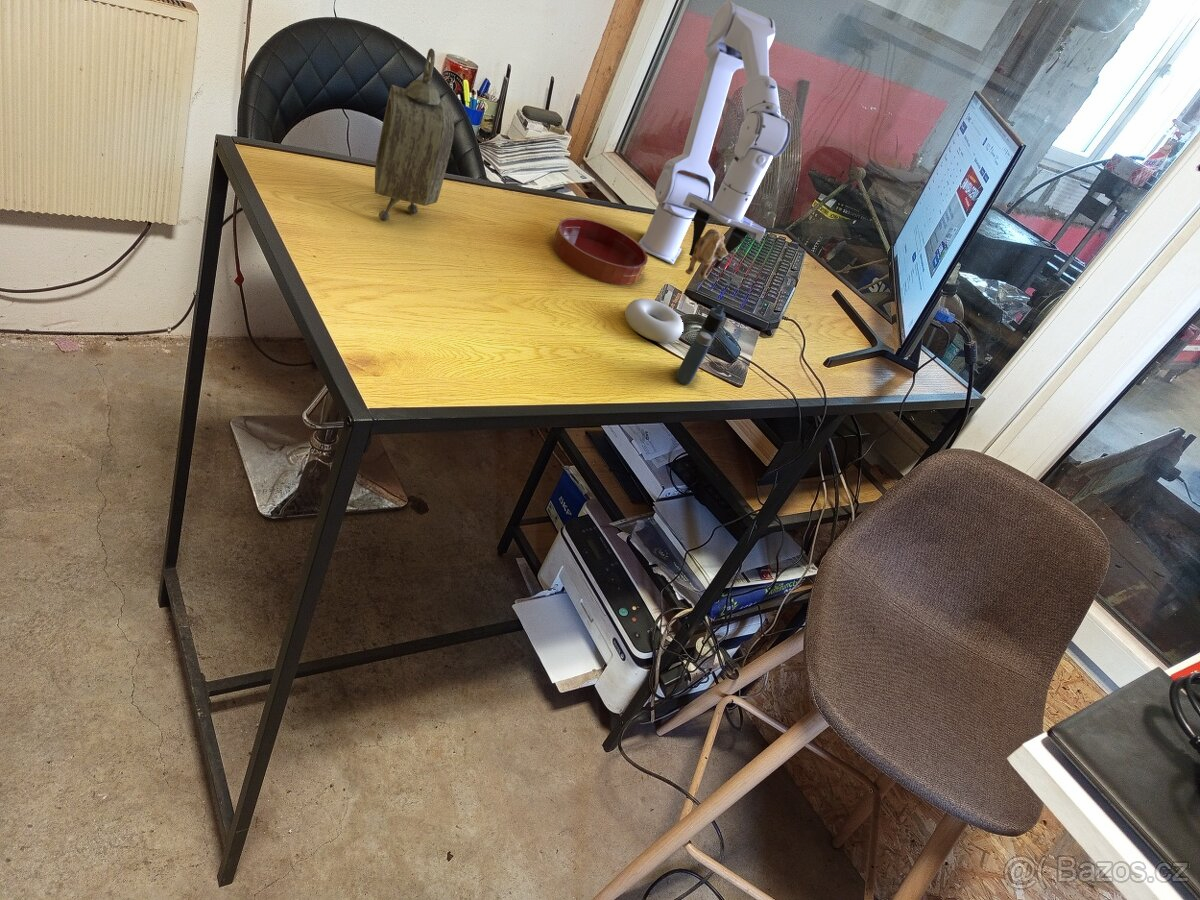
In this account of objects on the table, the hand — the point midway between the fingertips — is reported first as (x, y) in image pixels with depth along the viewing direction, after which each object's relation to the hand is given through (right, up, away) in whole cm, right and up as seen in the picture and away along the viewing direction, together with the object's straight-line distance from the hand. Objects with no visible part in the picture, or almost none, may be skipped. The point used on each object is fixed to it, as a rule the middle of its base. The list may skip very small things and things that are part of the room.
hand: (703, 259), depth 136 cm
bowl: (-19, +1, +3) cm, 19 cm away
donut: (-10, -14, -10) cm, 20 cm away
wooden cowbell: (-51, +5, -10) cm, 52 cm away
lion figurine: (-1, -2, 0) cm, 2 cm away
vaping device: (-5, -23, -18) cm, 30 cm away
